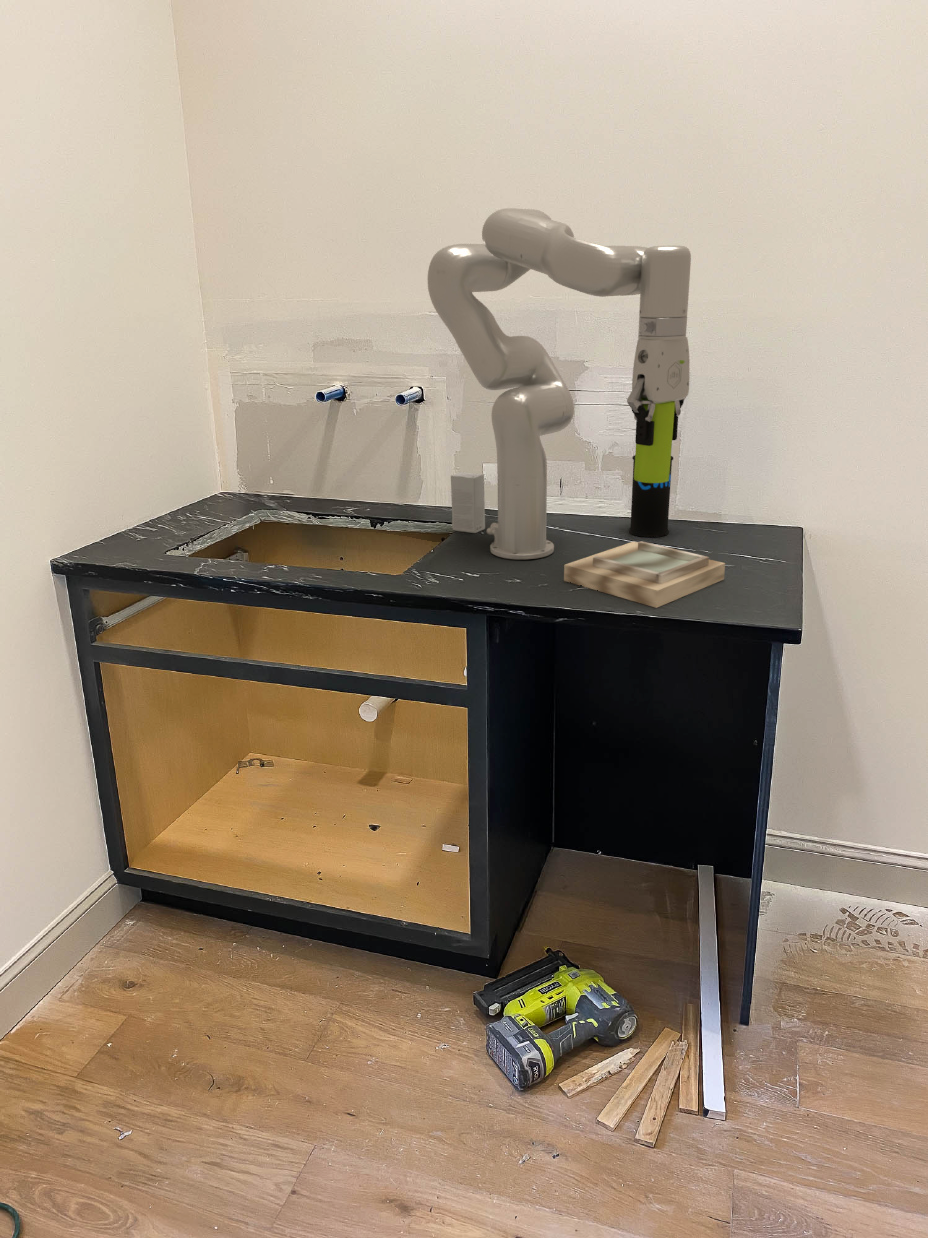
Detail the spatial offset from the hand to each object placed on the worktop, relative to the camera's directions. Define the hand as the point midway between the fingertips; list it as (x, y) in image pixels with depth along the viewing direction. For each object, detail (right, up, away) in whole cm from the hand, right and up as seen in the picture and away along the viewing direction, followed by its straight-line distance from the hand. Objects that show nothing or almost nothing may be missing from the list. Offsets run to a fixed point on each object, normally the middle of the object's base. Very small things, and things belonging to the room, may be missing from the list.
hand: (656, 440), depth 151 cm
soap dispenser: (0, -6, +3) cm, 7 cm away
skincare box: (-31, -11, +43) cm, 55 cm away
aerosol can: (+7, -12, +39) cm, 41 cm away
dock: (0, -23, +10) cm, 25 cm away
